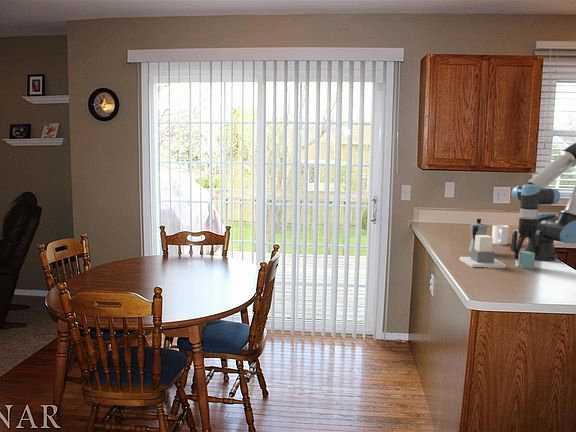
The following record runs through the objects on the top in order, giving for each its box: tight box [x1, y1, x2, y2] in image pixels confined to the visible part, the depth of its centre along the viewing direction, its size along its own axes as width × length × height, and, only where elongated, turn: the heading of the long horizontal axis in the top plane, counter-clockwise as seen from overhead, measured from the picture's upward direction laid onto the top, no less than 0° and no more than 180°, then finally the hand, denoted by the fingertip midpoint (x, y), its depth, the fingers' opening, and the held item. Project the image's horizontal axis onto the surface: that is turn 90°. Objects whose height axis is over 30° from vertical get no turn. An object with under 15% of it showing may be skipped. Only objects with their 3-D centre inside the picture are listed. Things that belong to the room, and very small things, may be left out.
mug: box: [491, 224, 510, 246], centre depth 286 cm, size 9×12×11 cm
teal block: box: [514, 250, 536, 270], centre depth 231 cm, size 6×6×7 cm
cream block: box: [474, 234, 493, 252], centre depth 235 cm, size 6×6×7 cm
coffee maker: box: [468, 218, 488, 253], centre depth 262 cm, size 15×9×18 cm, turn 144°
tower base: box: [459, 249, 507, 269], centre depth 236 cm, size 16×16×6 cm
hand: (524, 266), depth 231 cm, fingers closed on teal block, 6 cm apart
